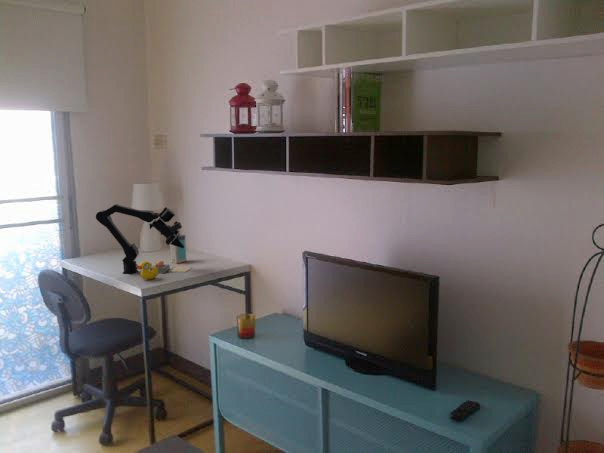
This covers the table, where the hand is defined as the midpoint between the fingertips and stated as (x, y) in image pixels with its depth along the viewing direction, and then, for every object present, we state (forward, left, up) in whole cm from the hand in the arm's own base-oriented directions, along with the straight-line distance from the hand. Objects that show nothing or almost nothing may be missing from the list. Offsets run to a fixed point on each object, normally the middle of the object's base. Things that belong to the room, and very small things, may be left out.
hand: (184, 246), depth 311 cm
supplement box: (-11, +18, -14) cm, 25 cm away
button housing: (-13, -4, -13) cm, 19 cm away
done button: (-13, -4, -11) cm, 18 cm away
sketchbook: (-3, 0, -13) cm, 14 cm away
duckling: (-12, -21, -14) cm, 28 cm away
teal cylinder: (-1, 0, -7) cm, 7 cm away
